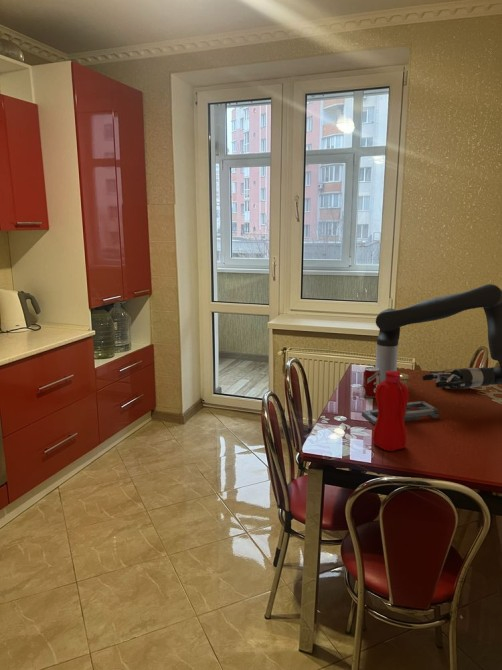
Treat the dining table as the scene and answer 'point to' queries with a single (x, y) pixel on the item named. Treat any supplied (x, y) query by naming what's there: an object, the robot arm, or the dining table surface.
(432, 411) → the grey ladder frame
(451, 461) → the dining table surface
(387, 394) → the water bottle
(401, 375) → the pin
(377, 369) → the soda can
